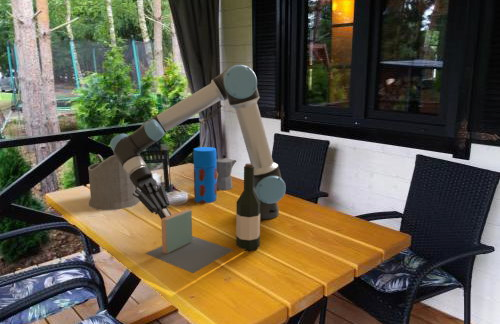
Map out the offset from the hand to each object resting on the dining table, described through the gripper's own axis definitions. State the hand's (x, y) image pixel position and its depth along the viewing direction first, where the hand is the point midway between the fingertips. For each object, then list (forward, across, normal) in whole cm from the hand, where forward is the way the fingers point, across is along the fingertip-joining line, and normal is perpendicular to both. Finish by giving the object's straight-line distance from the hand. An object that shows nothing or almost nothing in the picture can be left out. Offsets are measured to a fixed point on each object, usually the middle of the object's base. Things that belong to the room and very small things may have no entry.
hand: (171, 225), depth 136 cm
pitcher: (-38, -19, -50) cm, 66 cm away
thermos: (-13, -47, -25) cm, 54 cm away
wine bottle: (+20, -17, +9) cm, 28 cm away
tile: (+7, 0, -3) cm, 8 cm away
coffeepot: (-18, -67, -29) cm, 75 cm away
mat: (+12, 0, 0) cm, 12 cm away
